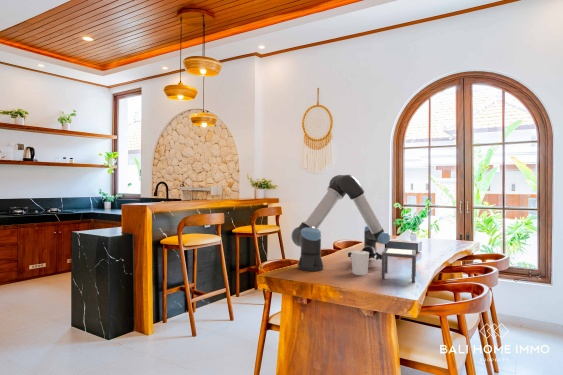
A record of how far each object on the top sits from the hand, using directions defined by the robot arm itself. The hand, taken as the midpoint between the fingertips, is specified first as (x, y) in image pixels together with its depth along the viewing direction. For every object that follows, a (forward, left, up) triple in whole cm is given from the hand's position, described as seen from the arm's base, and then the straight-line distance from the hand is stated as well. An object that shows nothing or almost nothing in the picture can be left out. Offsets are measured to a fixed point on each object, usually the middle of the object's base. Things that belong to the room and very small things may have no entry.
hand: (362, 258), depth 225 cm
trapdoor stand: (+21, -10, -7) cm, 24 cm away
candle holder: (0, -10, -7) cm, 12 cm away
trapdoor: (+21, -10, +6) cm, 24 cm away
